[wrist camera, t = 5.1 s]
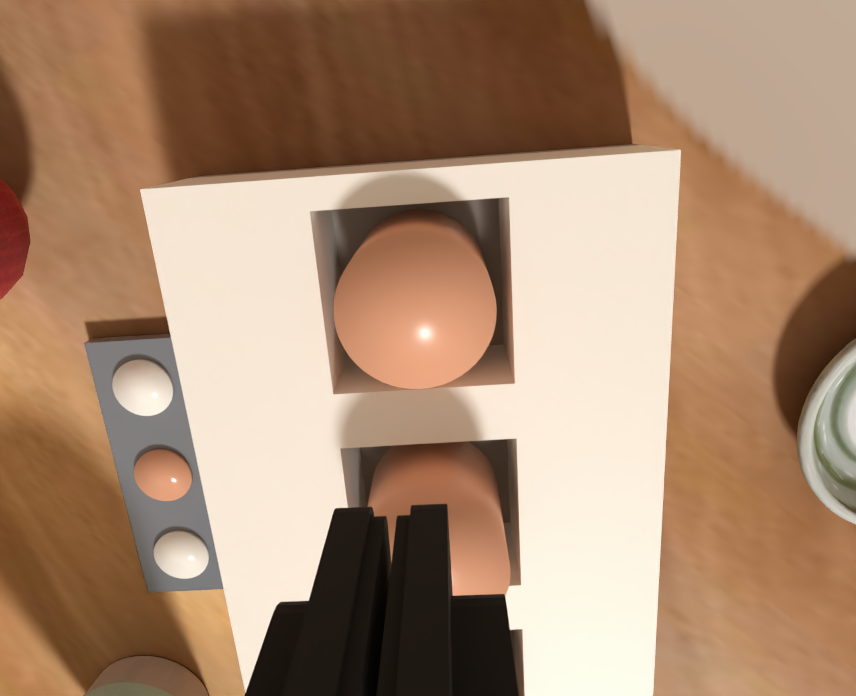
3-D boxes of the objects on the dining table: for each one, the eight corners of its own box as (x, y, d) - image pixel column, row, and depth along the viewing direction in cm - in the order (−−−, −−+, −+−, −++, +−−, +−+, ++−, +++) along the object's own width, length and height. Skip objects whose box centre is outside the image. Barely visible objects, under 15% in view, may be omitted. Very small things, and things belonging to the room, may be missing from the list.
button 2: (494, 429, 24) (508, 503, 20) (499, 539, 26) (512, 633, 21) (365, 436, 24) (348, 512, 20) (378, 545, 26) (364, 639, 21)
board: (633, 143, 24) (680, 149, 19) (618, 665, 32) (649, 761, 27) (198, 175, 24) (140, 189, 20) (288, 679, 32) (262, 775, 27)
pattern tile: (188, 332, 26) (181, 338, 26) (238, 579, 30) (233, 591, 30) (91, 338, 27) (81, 344, 26) (153, 583, 30) (145, 595, 30)
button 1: (482, 204, 23) (493, 226, 18) (488, 334, 25) (499, 384, 20) (347, 214, 23) (323, 237, 19) (361, 341, 25) (343, 393, 20)
